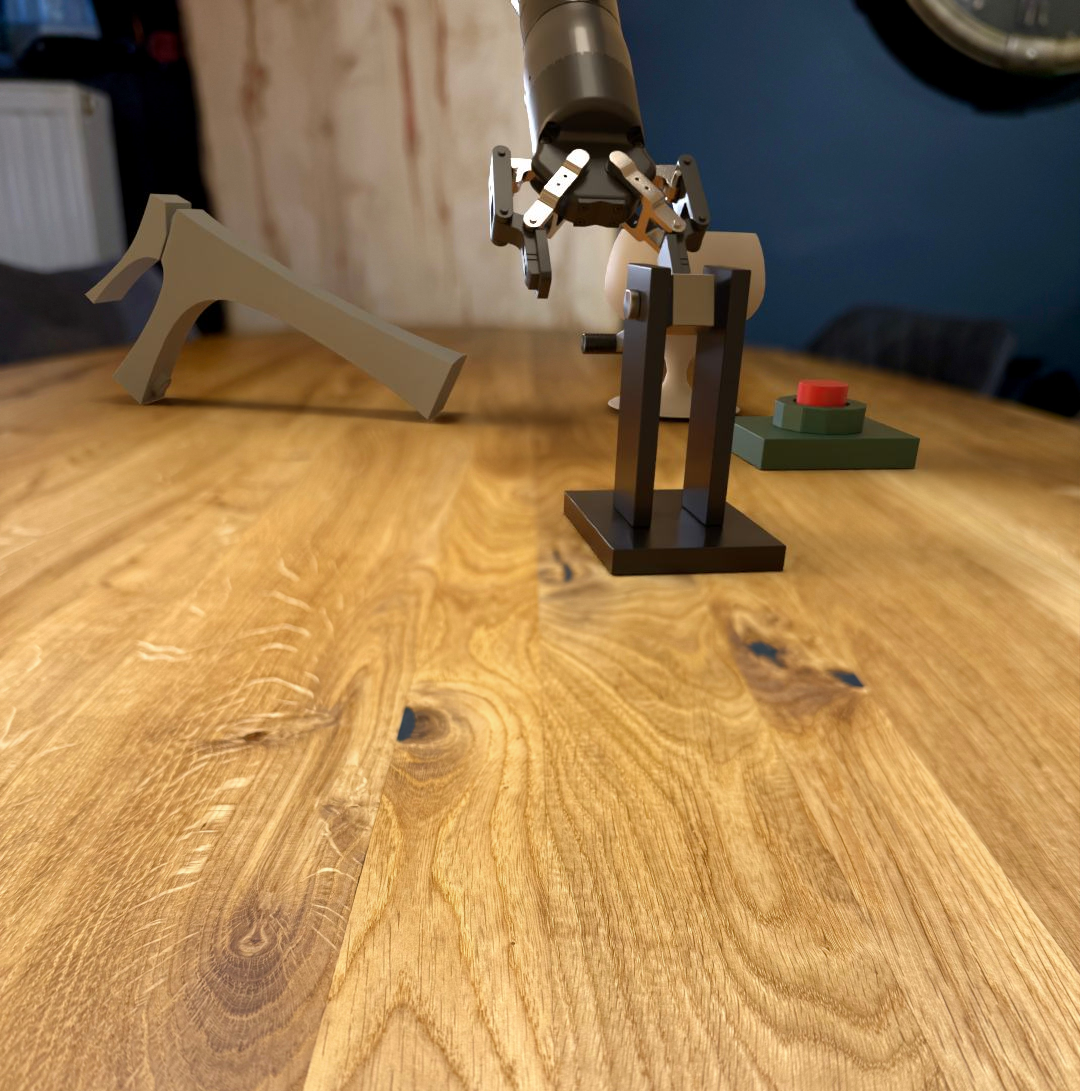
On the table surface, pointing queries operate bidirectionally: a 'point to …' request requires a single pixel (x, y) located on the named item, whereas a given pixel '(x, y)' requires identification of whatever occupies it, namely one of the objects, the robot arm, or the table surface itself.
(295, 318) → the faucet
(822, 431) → the button box
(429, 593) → the table surface
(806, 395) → the button
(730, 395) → the bracket
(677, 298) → the lever
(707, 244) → the chalice
